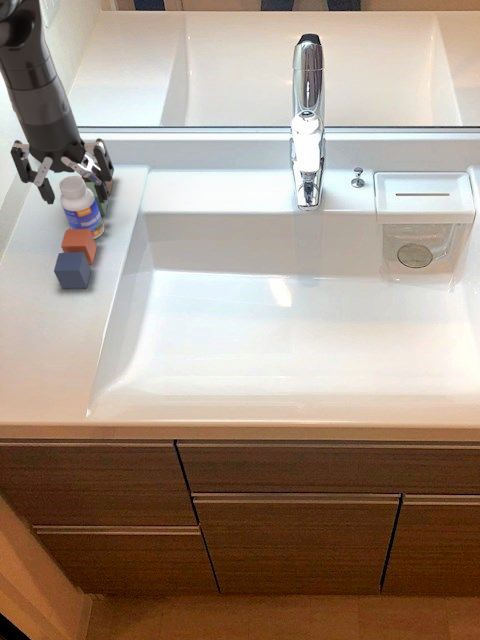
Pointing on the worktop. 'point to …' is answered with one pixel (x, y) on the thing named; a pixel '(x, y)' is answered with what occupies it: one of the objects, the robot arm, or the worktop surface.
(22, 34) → the robot arm
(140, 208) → the worktop surface
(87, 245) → the block
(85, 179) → the block
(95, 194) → the block
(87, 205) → the pill bottle
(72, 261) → the block
